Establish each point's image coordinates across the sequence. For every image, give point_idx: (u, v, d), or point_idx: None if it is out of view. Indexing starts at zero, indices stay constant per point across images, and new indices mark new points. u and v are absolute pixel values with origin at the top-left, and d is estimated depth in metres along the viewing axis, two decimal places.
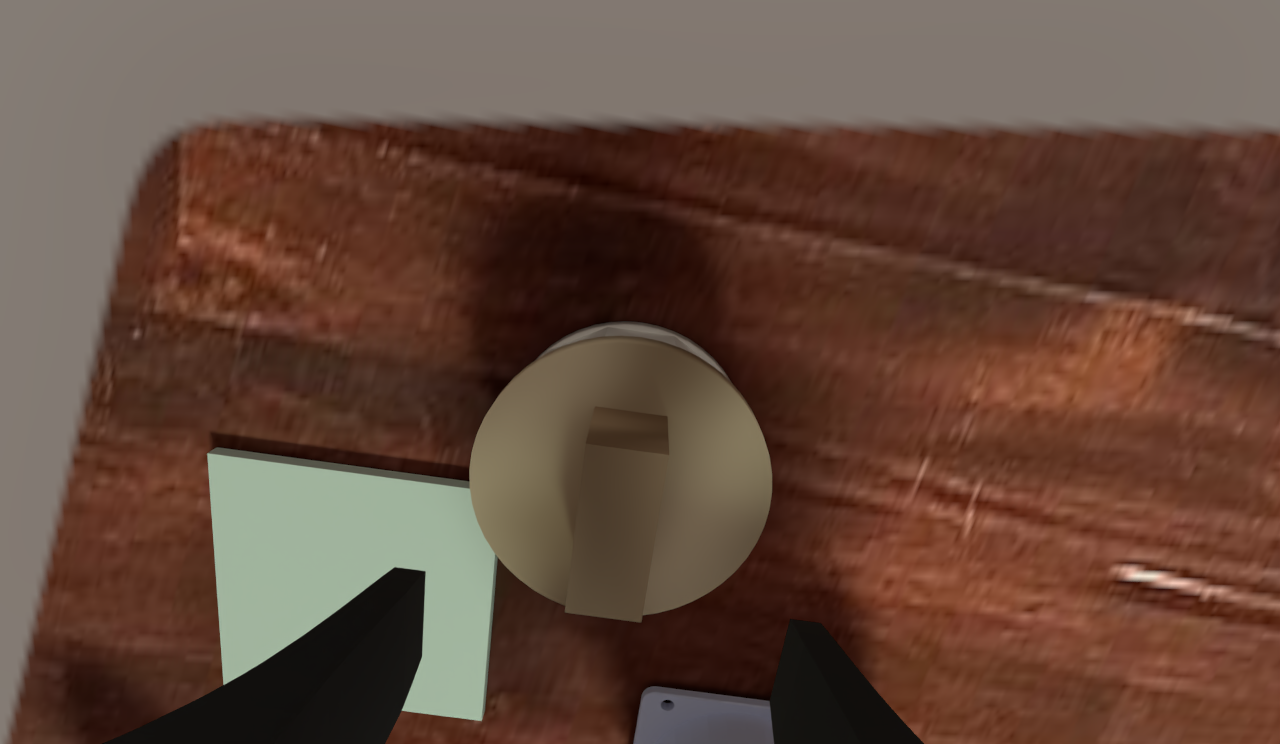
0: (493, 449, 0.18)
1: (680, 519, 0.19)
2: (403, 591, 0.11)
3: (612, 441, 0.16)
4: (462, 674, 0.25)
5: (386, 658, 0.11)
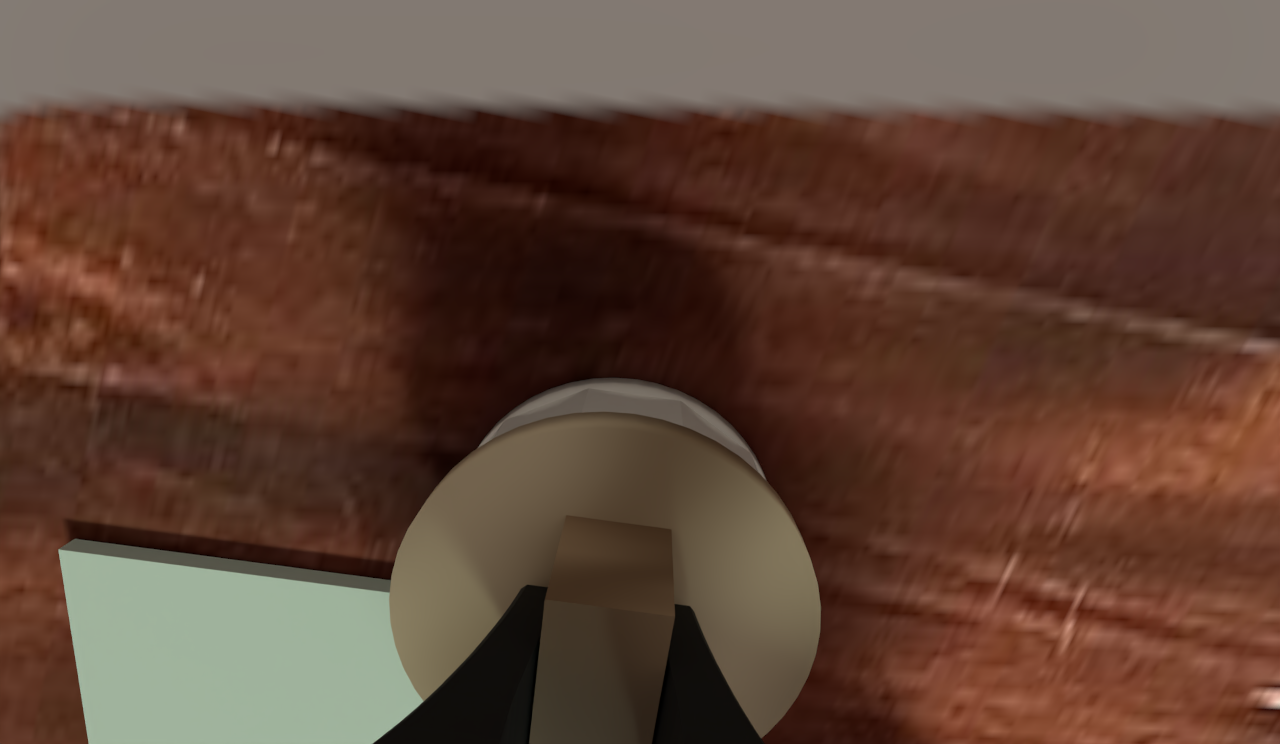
0: (421, 573, 0.13)
1: None
2: None
3: (587, 590, 0.10)
4: None
5: None
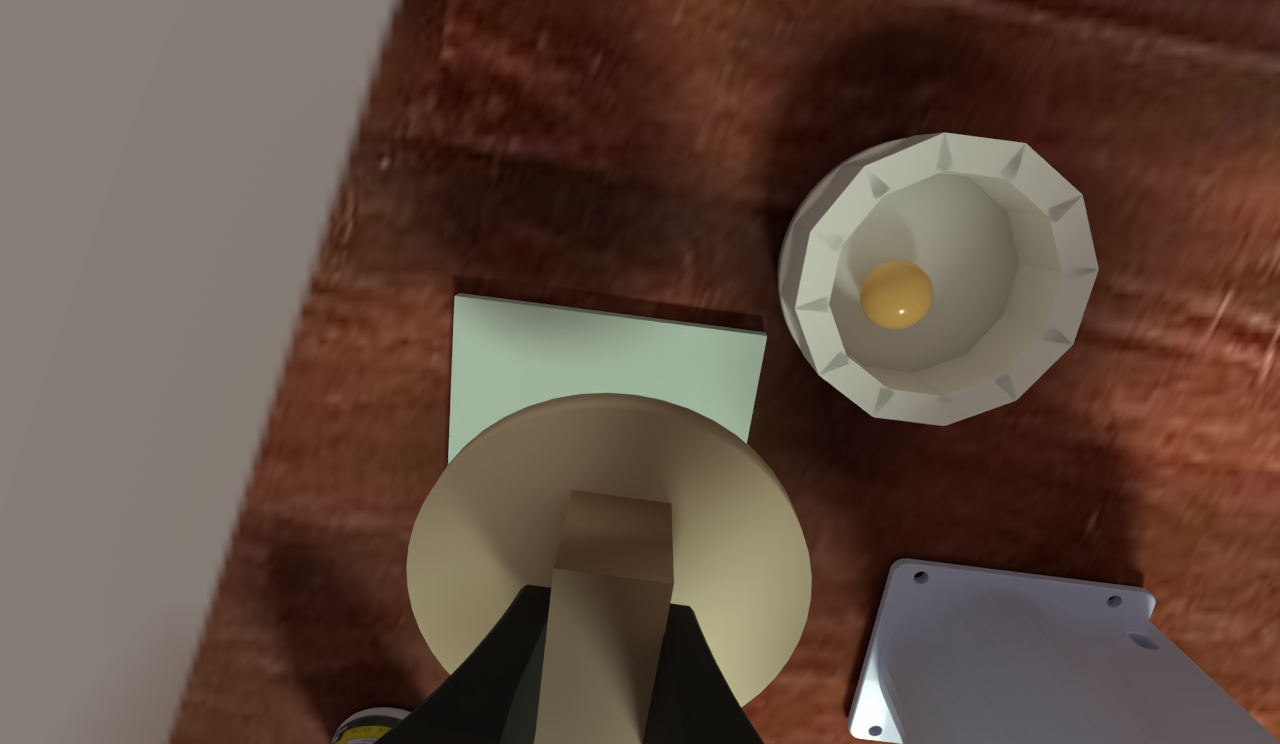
0: (436, 544, 0.14)
1: None
2: (547, 610, 0.11)
3: (594, 560, 0.11)
4: None
5: (536, 677, 0.11)
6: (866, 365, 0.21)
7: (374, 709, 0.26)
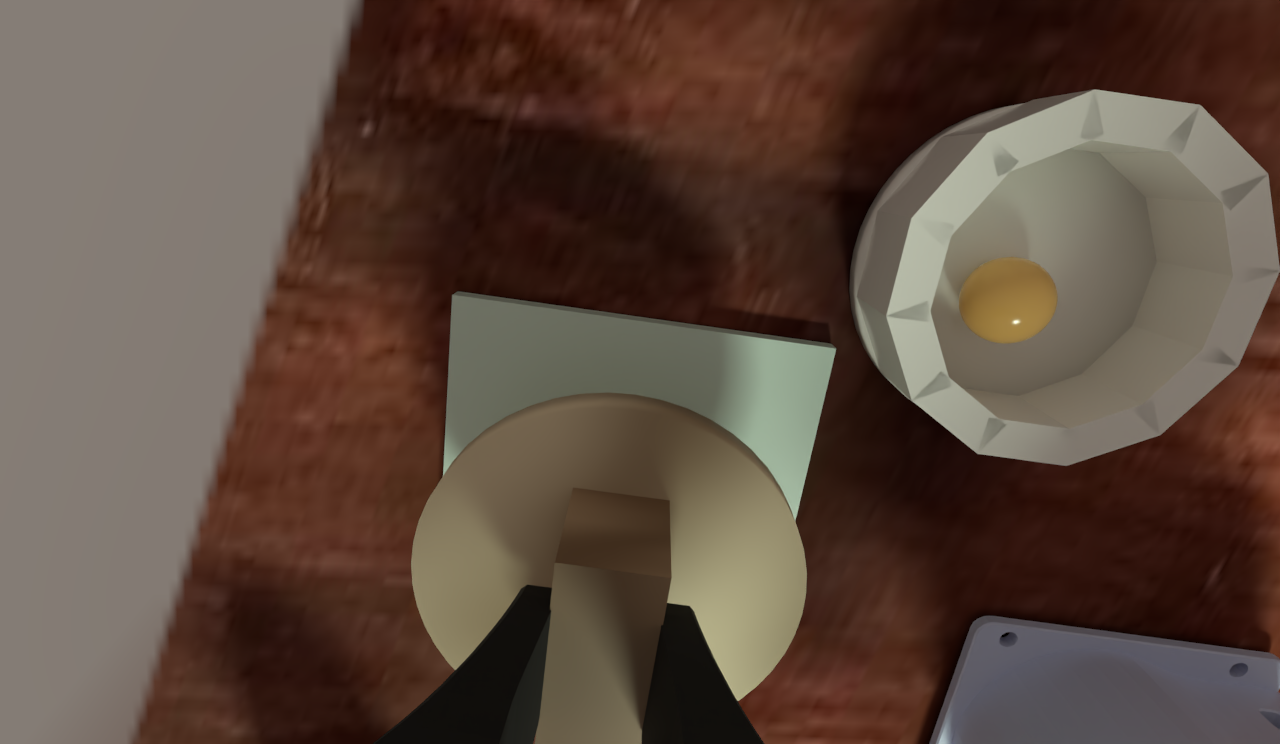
0: (440, 540, 0.14)
1: None
2: (547, 610, 0.11)
3: (593, 554, 0.11)
4: None
5: (536, 677, 0.11)
6: None
7: None
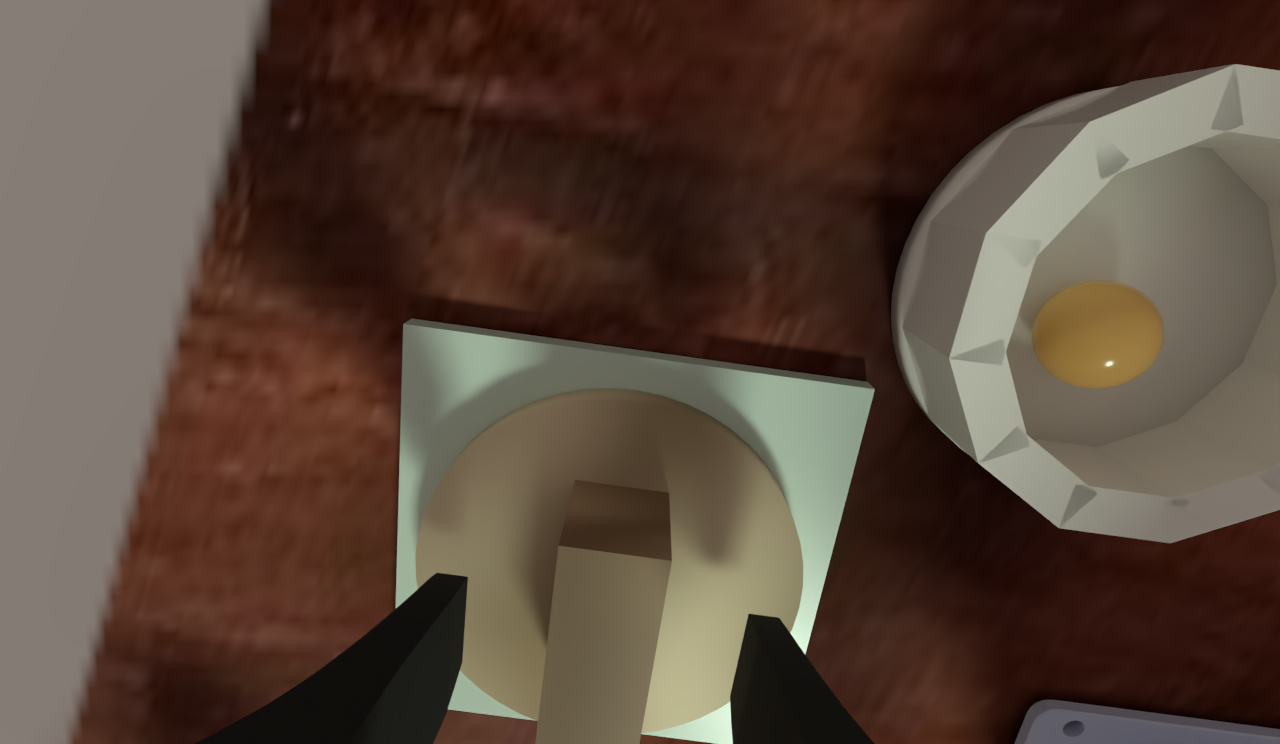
0: (444, 533, 0.14)
1: (685, 619, 0.15)
2: (449, 597, 0.11)
3: (596, 538, 0.12)
4: None
5: (434, 664, 0.11)
6: None
7: None
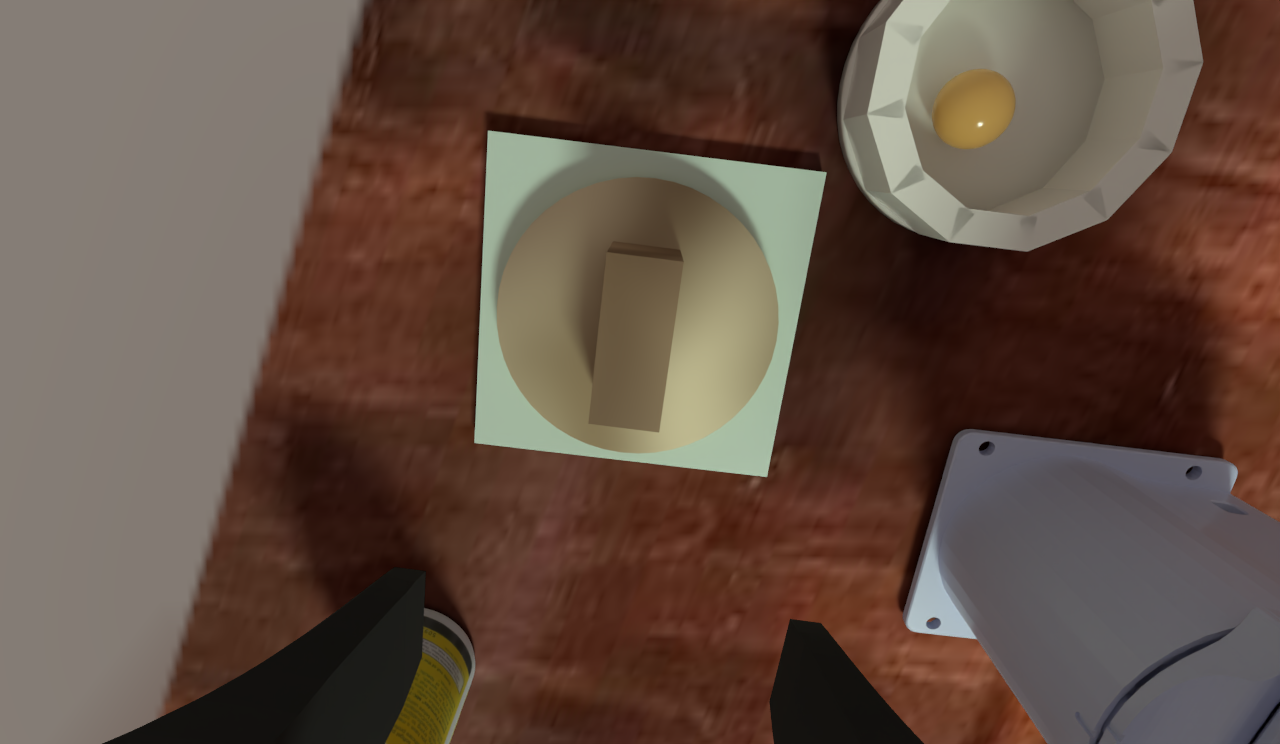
0: (518, 286, 0.20)
1: (693, 353, 0.20)
2: (403, 591, 0.11)
3: (631, 253, 0.17)
4: (752, 417, 0.22)
5: (386, 658, 0.11)
6: None
7: None
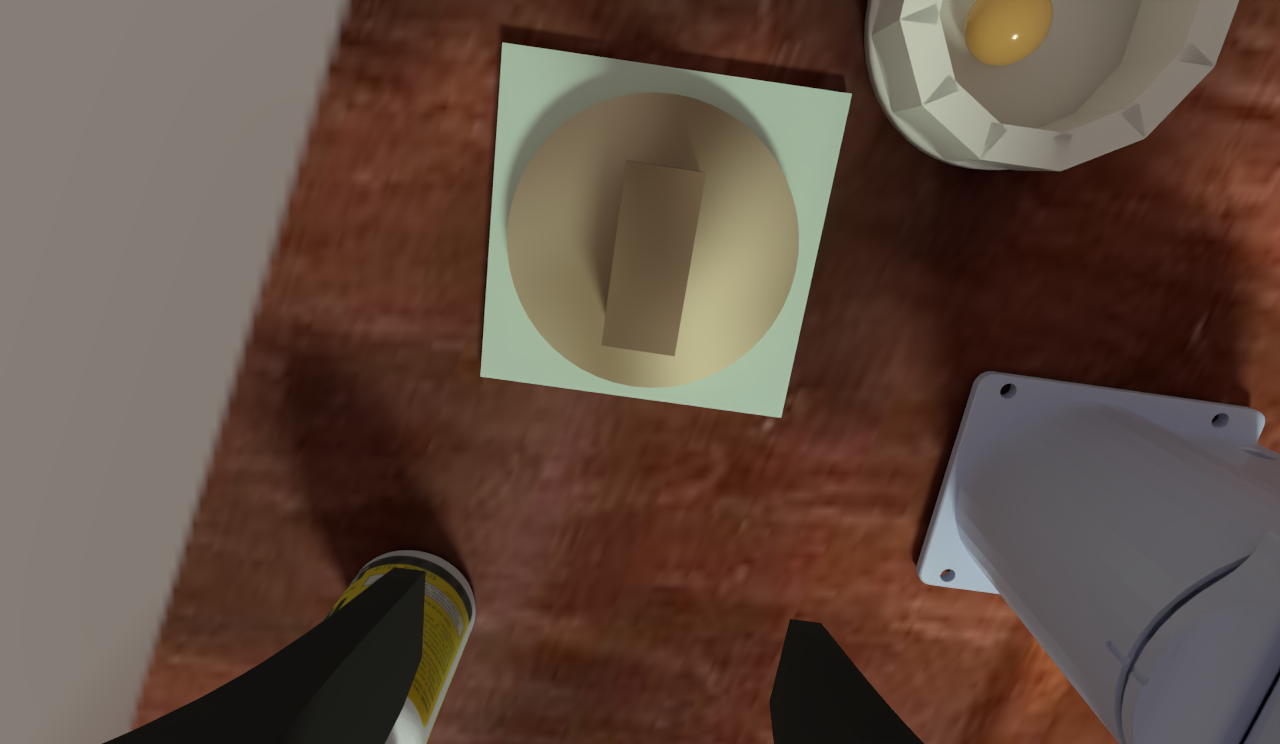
0: (530, 207, 0.19)
1: (709, 283, 0.20)
2: (403, 591, 0.11)
3: (651, 164, 0.17)
4: (767, 354, 0.21)
5: (386, 658, 0.11)
6: None
7: (398, 551, 0.24)
